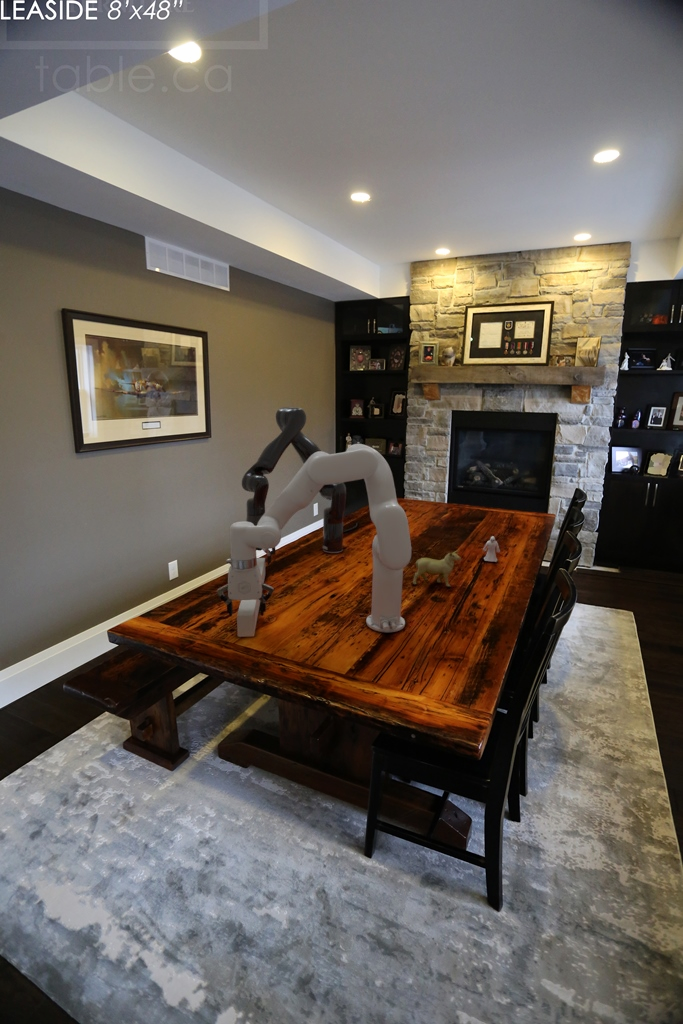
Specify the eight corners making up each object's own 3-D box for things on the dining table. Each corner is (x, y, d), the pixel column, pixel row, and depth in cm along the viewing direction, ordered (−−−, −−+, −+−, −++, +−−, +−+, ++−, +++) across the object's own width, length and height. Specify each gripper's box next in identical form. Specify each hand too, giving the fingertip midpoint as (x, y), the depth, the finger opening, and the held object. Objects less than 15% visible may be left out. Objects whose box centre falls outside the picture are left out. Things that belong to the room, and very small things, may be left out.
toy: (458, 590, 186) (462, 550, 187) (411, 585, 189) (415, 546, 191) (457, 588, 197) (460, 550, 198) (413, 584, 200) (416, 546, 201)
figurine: (481, 562, 222) (483, 536, 219) (482, 556, 230) (484, 531, 227) (499, 564, 220) (501, 538, 217) (499, 558, 228) (501, 533, 225)
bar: (253, 636, 153) (253, 615, 151) (237, 636, 153) (236, 615, 151) (265, 574, 204) (265, 557, 202) (253, 574, 203) (252, 557, 202)
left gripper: (275, 522, 197) (276, 560, 202) (238, 522, 196) (240, 561, 200) (274, 527, 190) (275, 567, 194) (236, 527, 189) (238, 568, 193)
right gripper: (213, 567, 147) (216, 620, 151) (272, 565, 149) (274, 618, 153) (217, 559, 154) (220, 609, 159) (273, 557, 156) (275, 608, 160)
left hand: (257, 564), depth 197 cm, fingers open, 8 cm apart
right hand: (246, 614), depth 156 cm, fingers open, 9 cm apart
